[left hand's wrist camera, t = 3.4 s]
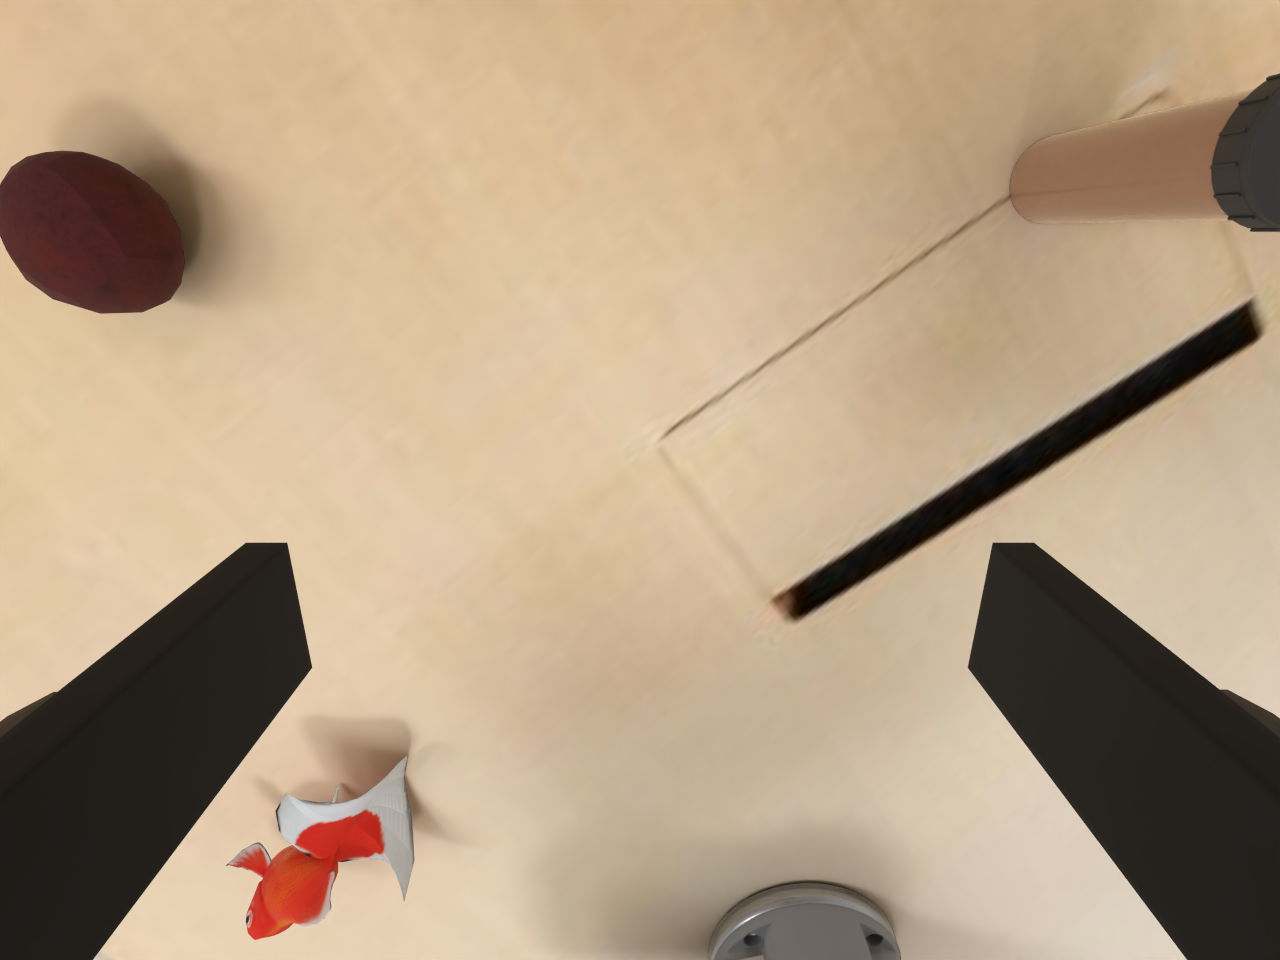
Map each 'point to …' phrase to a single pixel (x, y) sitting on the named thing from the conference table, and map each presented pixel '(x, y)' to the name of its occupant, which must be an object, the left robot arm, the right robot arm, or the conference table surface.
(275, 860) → the fish
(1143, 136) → the tan cylinder
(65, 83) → the conference table surface
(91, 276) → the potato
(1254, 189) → the lid
